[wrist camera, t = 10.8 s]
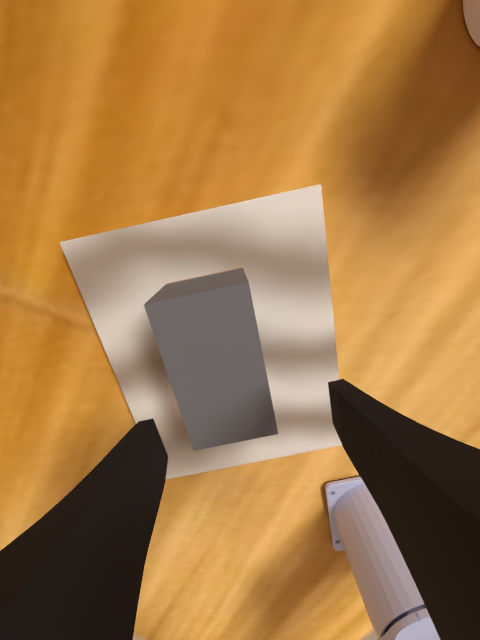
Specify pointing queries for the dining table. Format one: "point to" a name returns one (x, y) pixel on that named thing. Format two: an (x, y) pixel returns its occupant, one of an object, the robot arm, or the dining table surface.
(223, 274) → the block
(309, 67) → the dining table surface
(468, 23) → the mug
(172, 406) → the board
